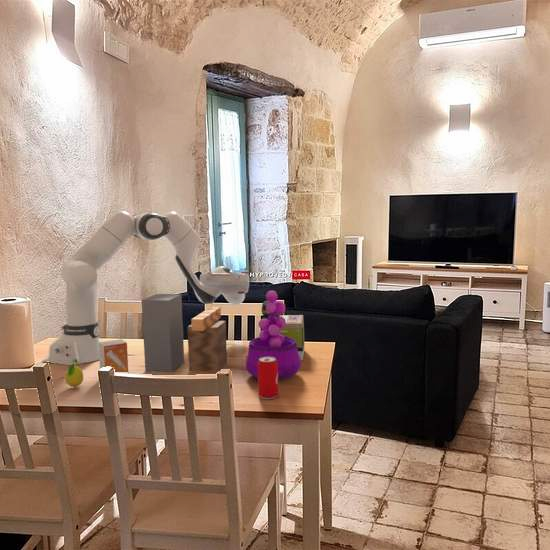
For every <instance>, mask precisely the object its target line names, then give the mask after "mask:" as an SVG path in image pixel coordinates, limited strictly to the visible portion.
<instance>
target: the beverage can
mask: <svg viewBox="0 0 550 550" xmlns="http://www.w3.org/2000/svg"><path fill="white" fill-rule="evenodd" d="M257 365H258V377H257V388H258V389H257V391H258V392H257V393H258V396H259V397H260V398H261V399H263V400H272V399H276V398H277V397H278V396H279V394H280V393H279V380H278V363H277V361H276V358H275V357H261V358H259V362H258V364H257Z"/></svg>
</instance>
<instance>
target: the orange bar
mask: <svg viewBox="0 0 550 550" xmlns="http://www.w3.org/2000/svg"><path fill="white" fill-rule="evenodd" d="M221 311H222V309H221V307H220V306H218V307H217V306H210V307H208V308H207V309H205V310H204V311H202V312H201V313H199V314H197V315H196V316H194V317H193V318H191V319H190V320H191V321H190V322H191V324H192V331H203V330H205V329H206V328H207V327H209V326H210V325H211V324H213V323H214V322H216V321H219V319H221V317H222V312H221Z"/></svg>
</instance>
